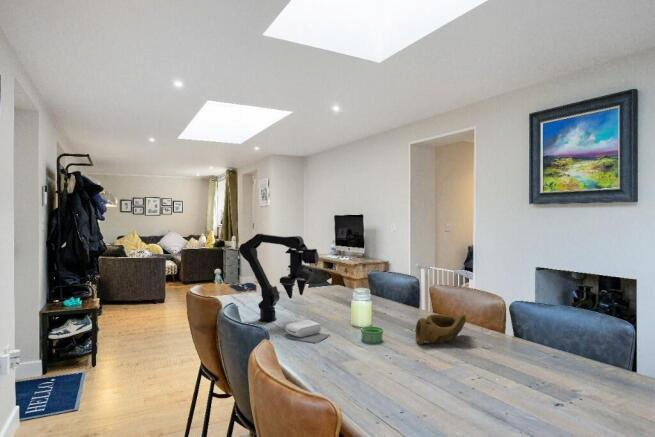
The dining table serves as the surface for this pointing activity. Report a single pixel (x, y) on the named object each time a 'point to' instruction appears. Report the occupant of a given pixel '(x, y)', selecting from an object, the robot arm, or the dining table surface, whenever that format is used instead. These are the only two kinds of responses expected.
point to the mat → (310, 337)
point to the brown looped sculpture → (438, 328)
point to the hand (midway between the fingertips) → (295, 296)
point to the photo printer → (303, 328)
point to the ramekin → (372, 334)
